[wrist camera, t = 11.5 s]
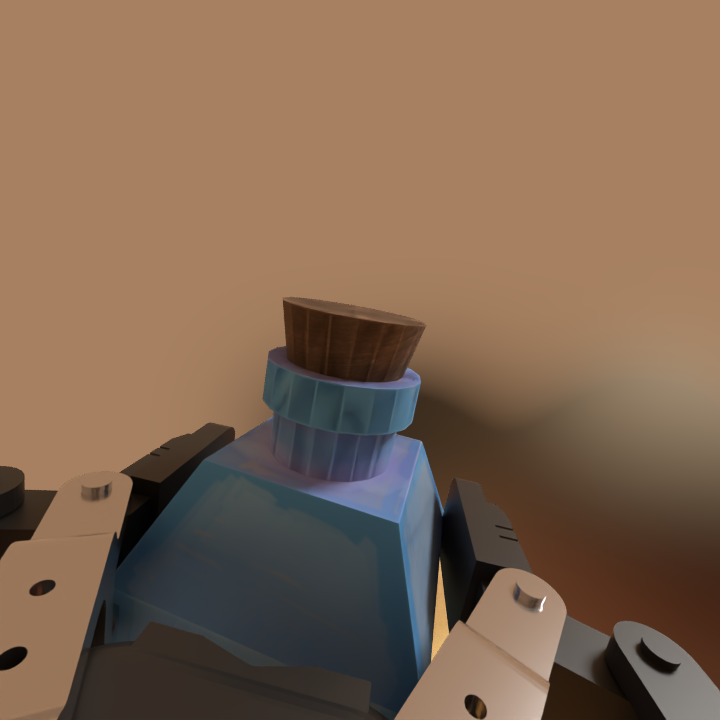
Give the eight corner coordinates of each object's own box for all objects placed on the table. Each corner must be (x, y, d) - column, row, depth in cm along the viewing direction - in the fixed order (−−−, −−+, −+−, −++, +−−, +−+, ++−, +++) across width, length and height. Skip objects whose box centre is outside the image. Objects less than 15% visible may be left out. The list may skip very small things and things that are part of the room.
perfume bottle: (93, 817, 8) (117, 278, 6) (245, 604, 14) (288, 288, 12) (355, 979, 7) (526, 366, 5) (403, 669, 13) (489, 328, 11)
